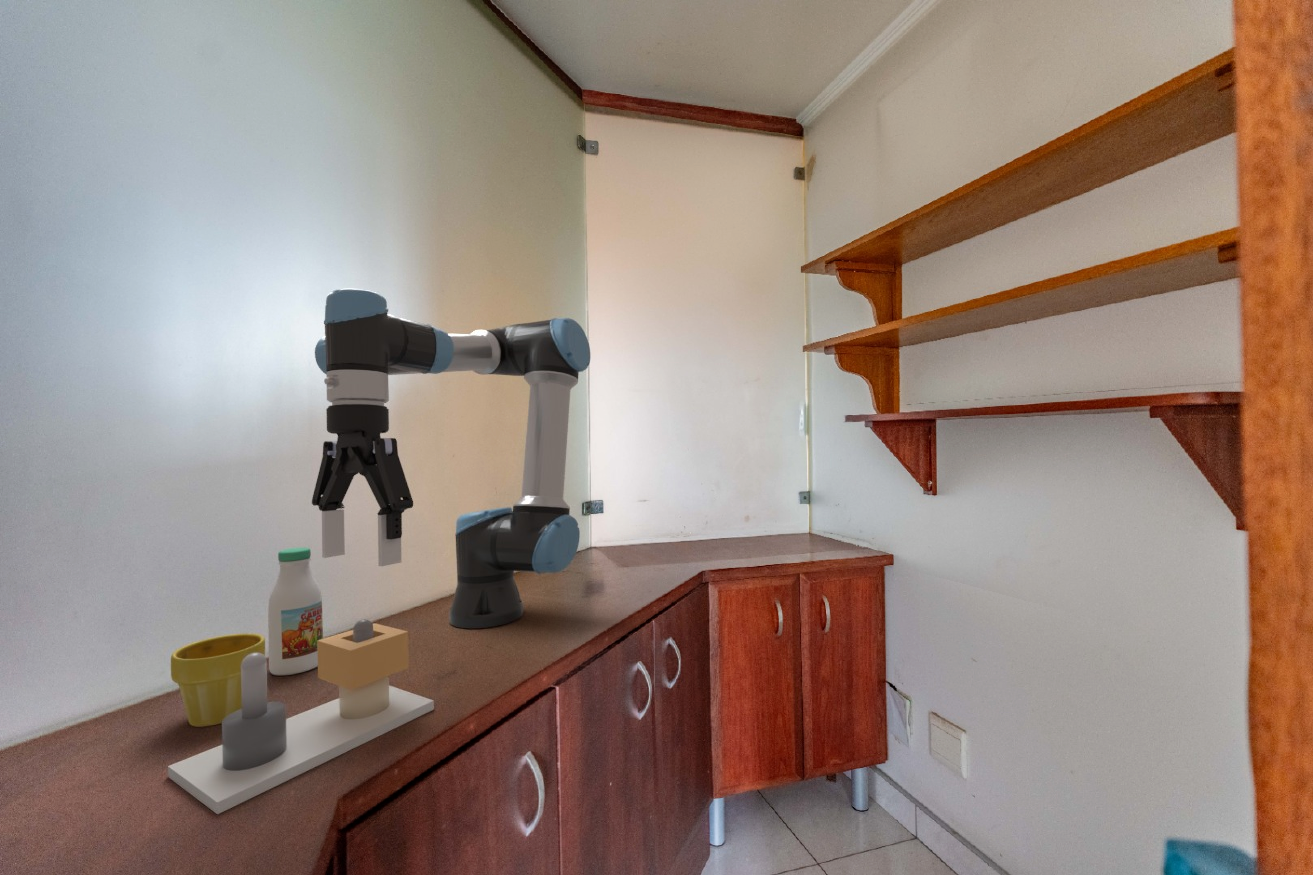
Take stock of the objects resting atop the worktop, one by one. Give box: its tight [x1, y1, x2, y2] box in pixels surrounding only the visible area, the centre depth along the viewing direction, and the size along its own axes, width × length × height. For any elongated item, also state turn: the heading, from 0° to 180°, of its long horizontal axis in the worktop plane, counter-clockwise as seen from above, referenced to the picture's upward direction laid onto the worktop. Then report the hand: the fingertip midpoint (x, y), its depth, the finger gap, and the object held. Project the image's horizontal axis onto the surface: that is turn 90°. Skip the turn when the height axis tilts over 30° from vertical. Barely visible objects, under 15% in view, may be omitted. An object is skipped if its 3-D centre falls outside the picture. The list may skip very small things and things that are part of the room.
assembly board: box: [167, 618, 435, 815], centre depth 69 cm, size 25×13×13 cm, turn 148°
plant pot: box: [170, 632, 266, 728], centre depth 77 cm, size 10×10×10 cm
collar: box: [317, 623, 410, 690], centre depth 75 cm, size 8×8×5 cm
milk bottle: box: [267, 547, 324, 676], centre depth 94 cm, size 8×8×20 cm
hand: (360, 560), depth 75 cm, fingers open, 13 cm apart
